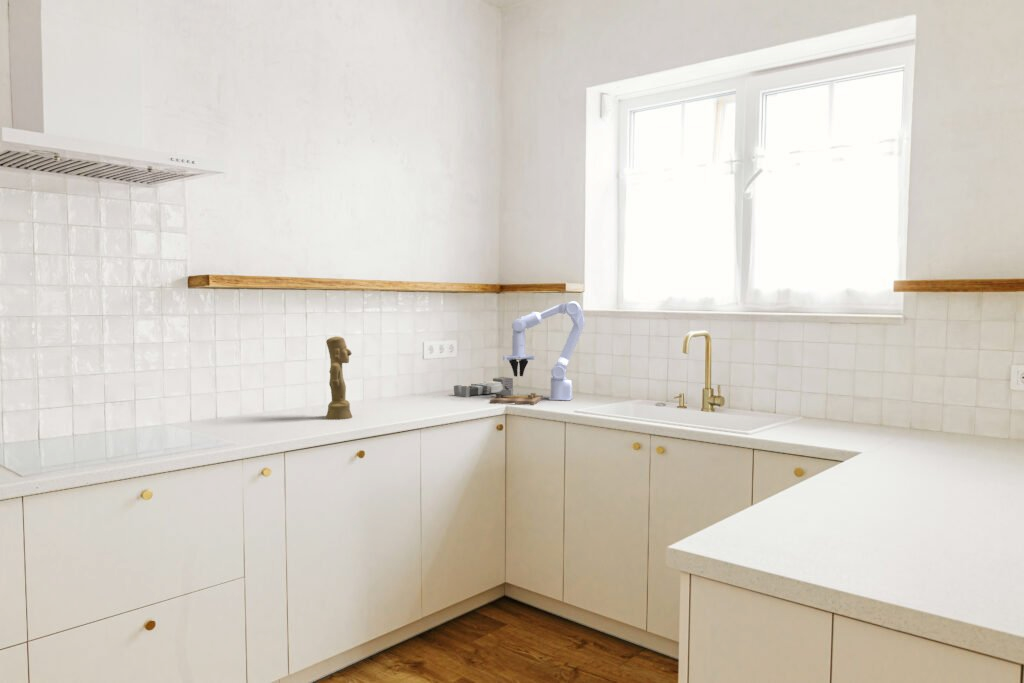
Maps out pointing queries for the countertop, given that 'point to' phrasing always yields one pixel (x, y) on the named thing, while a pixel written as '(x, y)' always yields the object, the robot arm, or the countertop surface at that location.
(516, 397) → the yellow rectangular block
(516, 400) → the brown wooden board
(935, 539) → the countertop surface
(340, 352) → the statue
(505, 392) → the knobbed plate
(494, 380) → the toy figure
